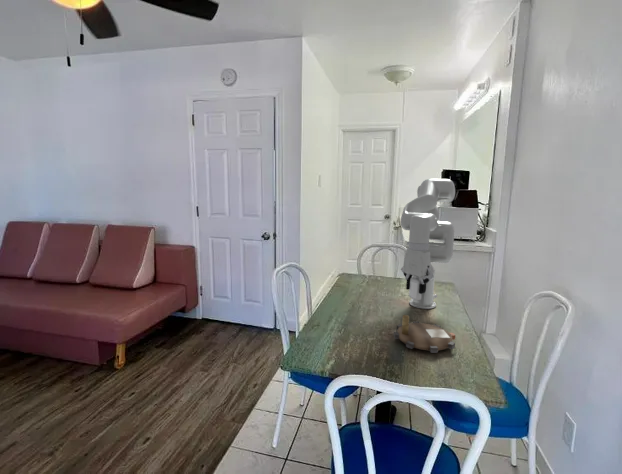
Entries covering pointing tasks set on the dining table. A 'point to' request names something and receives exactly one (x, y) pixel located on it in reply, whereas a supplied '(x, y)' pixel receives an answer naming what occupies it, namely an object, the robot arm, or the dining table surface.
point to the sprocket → (424, 336)
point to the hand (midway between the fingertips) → (415, 290)
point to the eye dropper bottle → (414, 288)
